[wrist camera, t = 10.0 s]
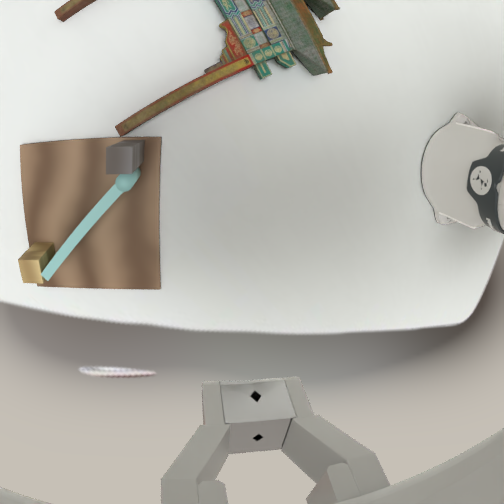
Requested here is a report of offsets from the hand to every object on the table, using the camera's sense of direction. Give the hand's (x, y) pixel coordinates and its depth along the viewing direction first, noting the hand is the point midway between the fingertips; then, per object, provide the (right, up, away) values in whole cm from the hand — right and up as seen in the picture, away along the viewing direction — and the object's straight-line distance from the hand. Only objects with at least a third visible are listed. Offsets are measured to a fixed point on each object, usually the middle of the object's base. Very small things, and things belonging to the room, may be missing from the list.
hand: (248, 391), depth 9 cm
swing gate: (-18, +9, +24) cm, 32 cm away
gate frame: (-20, +9, +25) cm, 33 cm away
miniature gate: (-5, +32, +18) cm, 37 cm away
